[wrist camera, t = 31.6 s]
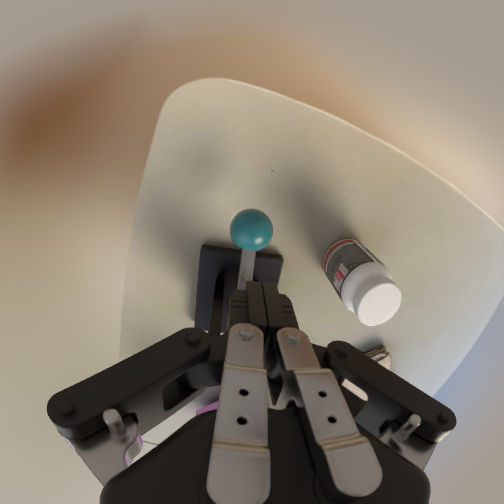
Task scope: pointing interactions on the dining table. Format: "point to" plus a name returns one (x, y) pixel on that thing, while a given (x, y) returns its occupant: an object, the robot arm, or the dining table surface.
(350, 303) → the pill bottle
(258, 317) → the robot arm
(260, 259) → the bracket
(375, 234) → the dining table surface
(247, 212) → the lever with teal knob
